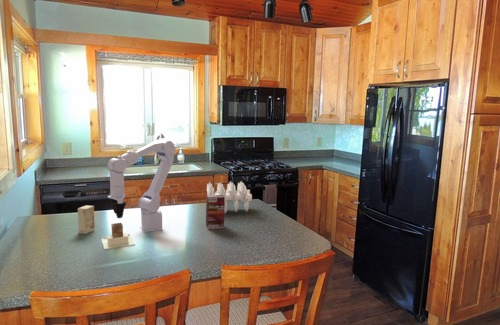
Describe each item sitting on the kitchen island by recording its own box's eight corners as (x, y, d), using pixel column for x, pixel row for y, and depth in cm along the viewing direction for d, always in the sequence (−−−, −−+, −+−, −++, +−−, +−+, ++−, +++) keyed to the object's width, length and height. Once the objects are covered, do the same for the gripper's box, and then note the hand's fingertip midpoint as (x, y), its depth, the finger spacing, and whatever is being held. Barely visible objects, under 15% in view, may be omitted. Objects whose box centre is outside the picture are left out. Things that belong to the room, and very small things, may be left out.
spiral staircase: (251, 219, 203) (208, 219, 197) (245, 199, 217) (205, 199, 211) (257, 194, 193) (212, 194, 187) (250, 175, 208) (208, 174, 201)
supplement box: (207, 229, 173) (207, 197, 170) (205, 226, 177) (205, 195, 175) (224, 228, 175) (225, 197, 173) (222, 225, 180) (222, 194, 177)
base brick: (127, 239, 156) (126, 233, 155) (128, 242, 152) (128, 236, 152) (107, 242, 152) (107, 235, 152) (108, 245, 148) (108, 238, 148)
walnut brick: (121, 233, 154) (121, 222, 154) (123, 236, 151) (122, 225, 150) (111, 235, 152) (111, 223, 152) (113, 238, 149) (112, 226, 148)
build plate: (129, 235, 162) (129, 234, 162) (135, 246, 150) (135, 244, 150) (101, 239, 156) (101, 237, 156) (104, 251, 144) (104, 249, 144)
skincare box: (86, 235, 162) (85, 209, 160) (78, 234, 163) (76, 208, 161) (95, 230, 168) (94, 205, 166) (87, 229, 169) (86, 204, 167)
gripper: (105, 183, 161) (106, 212, 163) (109, 189, 148) (111, 221, 150) (121, 181, 164) (122, 210, 166) (127, 188, 151) (128, 218, 153)
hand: (118, 215), depth 158 cm, fingers open, 7 cm apart
